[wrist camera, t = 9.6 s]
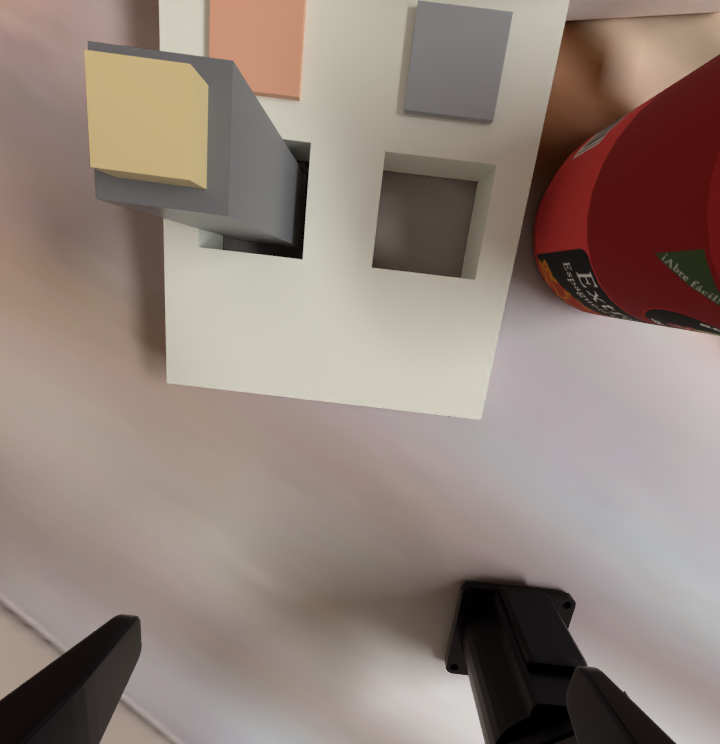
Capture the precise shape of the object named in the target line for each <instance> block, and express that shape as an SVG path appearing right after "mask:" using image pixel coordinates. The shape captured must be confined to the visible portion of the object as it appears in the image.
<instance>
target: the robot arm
mask: <svg viewBox="0 0 720 744" xmlns="http://www.w3.org/2000/svg"><path fill="white" fill-rule="evenodd" d="M469 591H472V592H469ZM564 602H565V603H564ZM575 604H576V603H575V601H574V600H573V598H572V596H571V595H570V594H569V593H566V592H558V591H549V590H540V589H531V588H523V587H514V586H505V585H496V584H488V583H479V582H466V583H464V584H463V585H462V587H461V590H460V594H459V599H458V603H457V608H456V612H455V617H454V621H453V626H452V630H451V634H450V639H449V643H448V648H447V652H446V657H445V665H446V669H447V671H448V672H450V673H453V674H462V675H468V676H469V680H470V684H471V688H472V692H473V696H474V700H475V704H476V708H477V712H478V716H479V720H480V724H481V728H482V732H483V737H484V741H485V744H676V743H675V742H674V741H673V740H672V739H671V738H670V737H669V736H668V735H667V734H666V733H665V732H664V731H663V730H662V729H661V728H660V727H659V726H657V725H656V724H655V723H654V722H653V721H652V720H651V719H650V718H649V717H648V716H647V715H646V714H645V713H644V712H643V711H642V710H641V709H640V708H639V707H638V706H637V705H636V704H635V703H634V702H633V701H632V700H631V699H630V698H629V697H628V695H627V694H626V692H625V691H624V692H623V691H622V690H621V689H620V688H619V687H617V686H616V685H615V684H614V683H613V682H612V681H611V680H610V679H609V678H608V677H607V676H606V675H605V674H604V673H603V672H602V671H600V670H599V669H597V668H594V667H587V663H586V661H585V659H584V657H583V655H582V654H581V652H580V650H579V648H578V647H577V645H576V643H575V641H574V639H573V638H572V636H571V634H570V632H569V631H568V627H569V624H570V621H571V618H572V615H573V612H574V609H575ZM141 646H142V644H141V624H140V619H139V617H138V616H134V615H125V614H120V615H117V616H115V617H113V618H112V619H111V620H109V621H108V622H107V623H105V624H104V625H102V626H101V627H100V628H98V629H97V630H96V631H94V632H93V633H92V634H90V635H89V636H87V637H86V638H85V639H83V640H82V641H81V642H79V643H78V644H76V645H75V646H74V647H72V648H71V649H70V650H68V651H67V652H66V653H64V654H63V655H61V656H60V657H59V658H57V659H56V660H55V661H53V662H52V663H51V664H49V665H48V666H46V667H45V668H44V669H42V670H41V671H40V672H38V673H37V674H36V675H34V676H33V677H32V678H30V679H29V680H27V681H26V682H25V683H23V684H22V685H21V686H19V687H18V688H17V689H15V690H14V691H12V692H11V693H10V694H8V695H7V696H6V697H4V698H3V699H1V700H0V744H99V743H100V741H101V739H102V736H103V734H104V732H105V730H106V728H107V726H108V724H109V721H110V719H111V717H112V715H113V713H114V711H115V709H116V706H117V704H118V702H119V700H120V698H121V696H122V694H123V691H124V689H125V687H126V685H127V683H128V681H129V678H130V676H131V674H132V672H133V670H134V668H135V666H136V663H137V661H138V659H139V656H140V652H141Z"/></svg>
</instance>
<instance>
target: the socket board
mask: <svg viewBox="0 0 720 744" xmlns="http://www.w3.org/2000/svg"><path fill="white" fill-rule="evenodd" d="M569 2H570V0H159V31H160V51H165V52H173V53H180V54H187V55H195V56H202V57H210V58H217V59H225V60H232V61H234V63H235V64H236V66H237V68H238V69H239V71H240V72H241V74H242V76H243V77H244V79H245V80H246V82H247V83H248V85H249V87H250V88H251V90H252V91H253V93H254V95H255V96H256V98H257V99H258V101H259V103H260V104H261V106H262V107H263V109H264V110H265V112H266V114H267V115H268V117H269V118H270V120H271V122H272V123H273V125H274V126H275V128H276V130H277V131H278V133H279V134H280V136H281V138H282V139H283V141H284V142H285V144H286V145H287V147H288V149H289V150H290V152H291V153H292V155H293V157H294V158H295V160H300V161H309V176H308V190H307V204H306V218H305V232H304V246H303V259H295V258H287V257H278V256H270V255H261V254H253V253H244V252H236V251H227V250H223V235H220V234H216V233H213V232H209V231H206V230H202V229H199V228H195V227H192V226H188V225H185V224H182V223H178V222H175V221H171V220H168V219H164V218H163V225H164V273H165V322H166V370H167V383H170V384H178V385H187V386H196V387H204V388H213V389H221V390H230V391H238V392H247V393H256V394H264V395H273V396H281V397H290V398H299V399H307V400H316V401H324V402H333V403H341V404H350V405H359V406H367V407H376V408H384V409H393V410H402V411H410V412H419V413H427V414H436V415H445V416H453V417H462V418H470V419H479V420H481V417H482V412H483V407H484V403H485V398H486V393H487V389H488V384H489V379H490V374H491V370H492V365H493V360H494V356H495V351H496V346H497V341H498V337H499V332H500V327H501V322H502V318H503V313H504V308H505V304H506V299H507V294H508V289H509V285H510V280H511V275H512V271H513V266H514V261H515V256H516V252H517V247H518V242H519V238H520V233H521V228H522V223H523V219H524V214H525V209H526V204H527V200H528V195H529V190H530V186H531V181H532V176H533V171H534V167H535V162H536V157H537V153H538V148H539V143H540V138H541V134H542V129H543V124H544V120H545V115H546V110H547V105H548V101H549V96H550V91H551V87H552V82H553V77H554V72H555V68H556V63H557V58H558V53H559V49H560V44H561V39H562V35H563V30H564V25H565V20H566V16H567V11H568V6H569ZM383 170H384V171H392V172H401V173H409V174H418V175H426V176H434V177H443V178H451V179H459V180H468V181H476V182H478V183H477V188H476V194H475V200H474V205H473V211H472V217H471V222H470V228H469V233H468V239H467V245H466V250H465V256H464V261H463V267H462V273H461V278H456V277H447V276H439V275H431V274H422V273H414V272H405V271H397V270H388V269H380V268H372V261H373V252H374V244H375V235H376V227H377V218H378V210H379V201H380V193H381V184H382V176H383Z"/></svg>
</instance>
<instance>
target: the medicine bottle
mask: <svg viewBox="0 0 720 744" xmlns="http://www.w3.org/2000/svg"><path fill="white" fill-rule="evenodd" d="M712 12H720V0H570V2H569V6H568V11H567V16H566V20H565V21H573V20H590V19H608V18H625V17H642V16H660V15H677V14H694V13H712Z"/></svg>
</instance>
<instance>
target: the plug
mask: <svg viewBox="0 0 720 744" xmlns="http://www.w3.org/2000/svg"><path fill="white" fill-rule="evenodd" d="M84 56H85V75H86V93H87V112H88V130H89V149H90V167H92V168H94V170H95V190H96V199H98V200H102V201H105V202H109V203H112V204H116V205H119V206H123V207H126V208H129V209H133V210H136V211H140V212H143V213H147V214H150V215H154V216H157V217H161V218H164V219H168V220H171V221H175V222H178V223H182V224H185V225H188V226H192V227H195V228H199V229H202V230H206V231H209V232H213V233H216V234H220V235H223V236H227V237H230V238H234V239H238V240H245V241H253V242H260V243H268V244H276V245H283V246H291V247H299V248H301V239H302V226H303V214H304V202H305V189H306V176H305V174H304V172H303V171H302V169H301V168H300V166H299V165H298V163H297V161H296V160H295V158H294V157H293V155H292V153H291V152H290V150H289V149H288V147H287V145H286V144H285V142H284V141H283V139H282V138H281V136H280V134H279V133H278V131H277V130H276V128H275V126H274V125H273V123H272V122H271V120H270V118H269V117H268V115H267V114H266V112H265V110H264V109H263V107H262V106H261V104H260V103H259V101H258V99H257V98H256V96H255V95H254V93H253V91H252V90H251V88H250V87H249V85H248V83H247V82H246V80H245V79H244V77H243V76H242V74H241V72H240V71H239V69H238V68H237V66H236V64H235V63H234V61H232V60H225V59H217V58H210V57H202V56H195V55H187V54H180V53H173V52H165V51H158V50H150V49H143V48H135V47H128V46H121V45H113V44H106V43H98V42H91V41H88V50H84Z"/></svg>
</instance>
